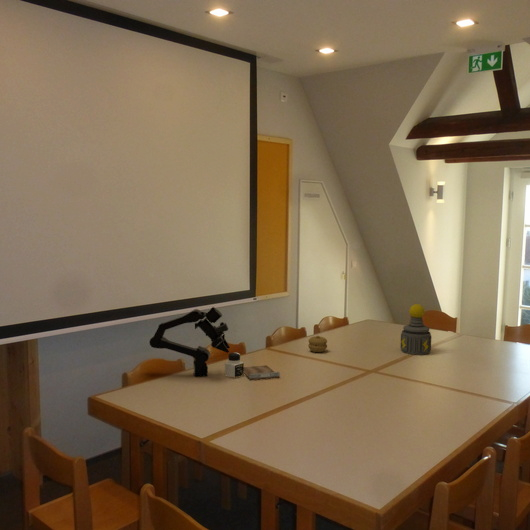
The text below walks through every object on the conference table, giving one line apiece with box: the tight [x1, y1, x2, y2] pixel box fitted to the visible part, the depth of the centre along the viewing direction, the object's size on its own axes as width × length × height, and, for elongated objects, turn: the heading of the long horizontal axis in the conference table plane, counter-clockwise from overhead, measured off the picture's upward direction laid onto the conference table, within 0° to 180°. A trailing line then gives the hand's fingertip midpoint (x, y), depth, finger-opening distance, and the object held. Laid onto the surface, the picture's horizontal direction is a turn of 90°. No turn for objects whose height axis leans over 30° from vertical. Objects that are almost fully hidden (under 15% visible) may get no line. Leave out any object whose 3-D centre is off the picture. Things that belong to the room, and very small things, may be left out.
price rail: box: [249, 371, 281, 379], centre depth 295 cm, size 16×2×2 cm, turn 108°
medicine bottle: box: [224, 352, 245, 379], centre depth 301 cm, size 7×7×12 cm
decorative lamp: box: [400, 303, 432, 356], centre depth 355 cm, size 19×19×30 cm
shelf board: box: [244, 364, 281, 381], centre depth 305 cm, size 16×22×1 cm
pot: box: [307, 335, 328, 353], centre depth 354 cm, size 12×12×10 cm
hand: (228, 350), depth 300 cm, fingers open, 9 cm apart
